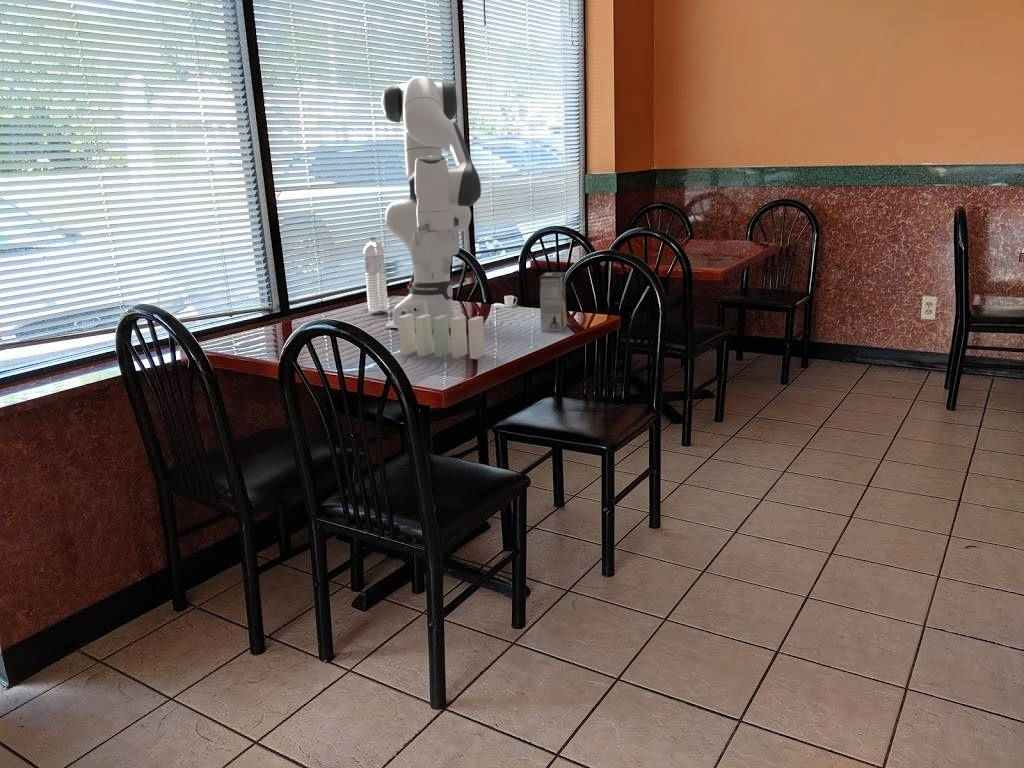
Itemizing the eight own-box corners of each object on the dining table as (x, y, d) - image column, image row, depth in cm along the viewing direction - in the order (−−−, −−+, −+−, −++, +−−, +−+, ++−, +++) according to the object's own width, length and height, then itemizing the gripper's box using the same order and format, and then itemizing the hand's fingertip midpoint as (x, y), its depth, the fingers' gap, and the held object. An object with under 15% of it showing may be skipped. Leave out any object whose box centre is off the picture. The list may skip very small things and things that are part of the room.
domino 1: (400, 354, 218) (397, 317, 215) (409, 350, 223) (407, 313, 220) (407, 355, 217) (404, 317, 215) (416, 350, 222) (413, 314, 219)
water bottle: (386, 312, 280) (380, 237, 274) (366, 312, 281) (360, 238, 274) (389, 308, 287) (384, 235, 280) (370, 309, 287) (364, 236, 281)
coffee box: (545, 325, 249) (544, 271, 245) (566, 325, 248) (565, 271, 243) (540, 331, 240) (539, 276, 236) (562, 331, 239) (561, 276, 235)
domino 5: (470, 358, 211) (468, 320, 208) (477, 354, 215) (476, 316, 213) (477, 359, 210) (475, 320, 208) (484, 354, 215) (483, 316, 212)
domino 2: (417, 355, 216) (415, 317, 214) (426, 351, 221) (423, 314, 218) (424, 356, 216) (421, 318, 213) (432, 351, 220) (430, 314, 217)
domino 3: (434, 356, 215) (432, 318, 212) (443, 352, 219) (441, 314, 216) (441, 356, 214) (439, 318, 211) (450, 352, 218) (448, 315, 216)
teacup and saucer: (492, 310, 279) (491, 298, 278) (499, 305, 286) (499, 294, 285) (516, 310, 276) (516, 298, 275) (524, 306, 283) (523, 294, 282)
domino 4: (452, 357, 213) (450, 319, 210) (460, 353, 217) (458, 315, 215) (459, 358, 212) (457, 319, 209) (467, 353, 216) (465, 315, 214)
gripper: (427, 226, 197) (430, 284, 201) (462, 218, 215) (465, 271, 219) (403, 226, 199) (407, 283, 203) (440, 218, 217) (443, 271, 221)
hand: (437, 277), depth 211 cm, fingers open, 8 cm apart
